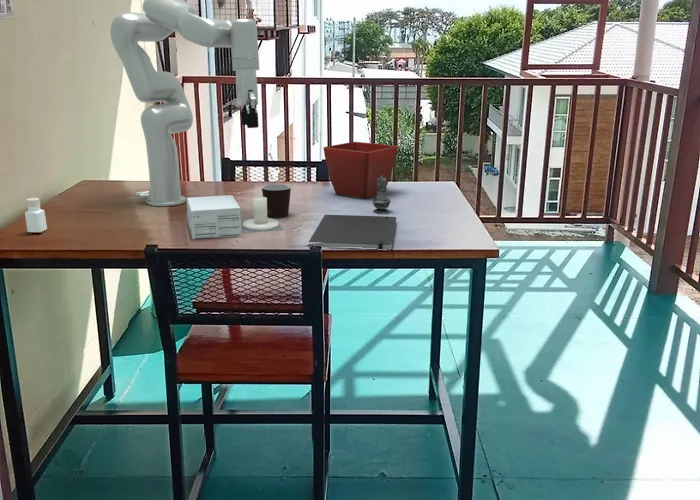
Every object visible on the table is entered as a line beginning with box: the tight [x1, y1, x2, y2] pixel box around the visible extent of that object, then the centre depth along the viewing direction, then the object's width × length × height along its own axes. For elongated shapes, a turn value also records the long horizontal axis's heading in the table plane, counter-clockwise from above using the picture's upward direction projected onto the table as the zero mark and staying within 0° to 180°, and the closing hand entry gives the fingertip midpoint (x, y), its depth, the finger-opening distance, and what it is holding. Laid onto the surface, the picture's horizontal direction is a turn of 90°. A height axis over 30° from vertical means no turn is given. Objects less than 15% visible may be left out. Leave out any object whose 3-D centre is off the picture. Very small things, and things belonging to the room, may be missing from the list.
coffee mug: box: [261, 183, 292, 219], centre depth 194 cm, size 12×9×10 cm
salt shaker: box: [24, 197, 48, 233], centre depth 178 cm, size 4×4×10 cm
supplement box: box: [186, 194, 242, 240], centre depth 177 cm, size 17×13×9 cm
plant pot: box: [322, 141, 398, 199], centre depth 225 cm, size 19×19×17 cm
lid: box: [242, 196, 280, 232], centre depth 180 cm, size 10×10×8 cm
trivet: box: [241, 221, 285, 234], centre depth 182 cm, size 11×11×2 cm
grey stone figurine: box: [371, 175, 391, 215], centre depth 202 cm, size 6×6×12 cm
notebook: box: [308, 214, 397, 249], centre depth 180 cm, size 22×2×28 cm
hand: (250, 126), depth 188 cm, fingers open, 9 cm apart
